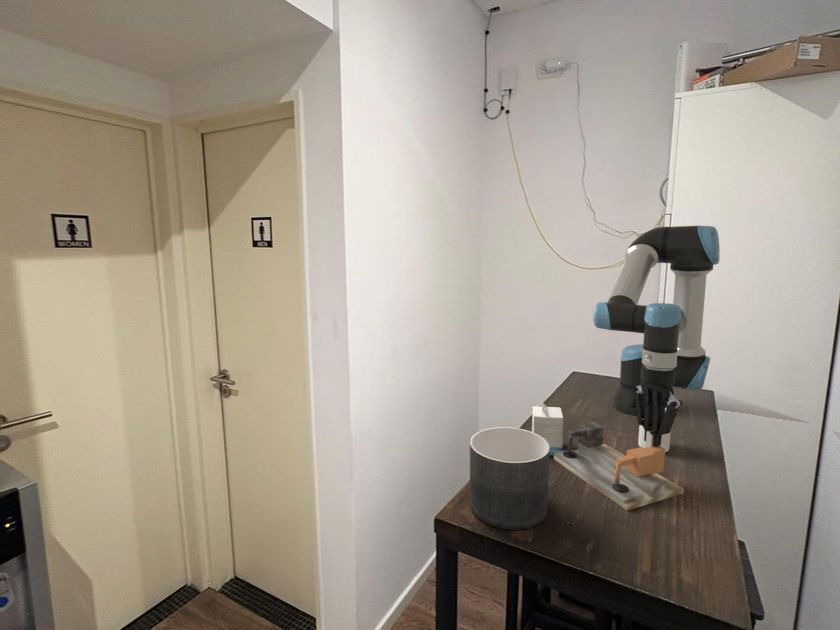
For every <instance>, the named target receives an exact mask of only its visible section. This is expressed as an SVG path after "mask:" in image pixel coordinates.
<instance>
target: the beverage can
mask: <svg viewBox="0 0 840 630" xmlns="http://www.w3.org/2000/svg"><path fill="white" fill-rule="evenodd" d="M666 408H667V407H666ZM666 408H665V411H666ZM638 426H639V428H638V439H637V440H638V443H637V444H638V446H639V447H643V448H646V441H645V440H644V434H645V430H644V427H643V426H642V425H638ZM671 431H672V430H671ZM671 431H670V433H668V434H664V435H662V438H661V445H660V447H662V448H664V449H665V453H667V452H669V450H670V444H671V434H672V432H671Z"/></svg>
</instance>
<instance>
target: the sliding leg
mask: <svg viewBox="0 0 840 630" xmlns="http://www.w3.org/2000/svg"><path fill="white" fill-rule="evenodd" d="M665 456H666V452H665V449H664V448H662V447H660V446H657V447H656V446H651V447H647V448H643V447H640V446H639V447H635V448H631V449H626V455H625V456H624V457H620V458H616V474H615V483H616V484H619V482H620V467H622V466H625V469H626V470H628V471H629V472H631V473H633V474H634V475H636V476H638V477H640V476H644V475H647V474H656V473H657V474H659V473H662V472H664V470H665V469H664V467H665Z"/></svg>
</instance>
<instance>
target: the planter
mask: <svg viewBox="0 0 840 630" xmlns="http://www.w3.org/2000/svg"><path fill="white" fill-rule="evenodd" d="M550 456H551V455H550V446H549V444H548V442H547V441H546V440H545V439H544V438H543V437H541V436H539V435H538V434H535V433H533V432H532V431H531V430H528V429H523V428H519V427H508V426H503V427H502V426H499V427H498V426H497V427H490V428H484V429H482V430H480V431H478V432H476V433H474V434H473V435H472V436H471V438H470V440H469V507H470V510H471V512H472V513H473V514H474V516H475V517H476V518H477V519H479V520H480V521H482V522H483V523H485V524H487V525H488V526H492V527H495V528H497V529H503V530H510V531H520V530H521V531H523V530H527V529H531V528H534V527H536V526H538V525H540V524H541V523H542V522H543V521H544V520H545V519H546V518H547V515H548V494H549V493H548V491H549V477H550V475H549V473H550Z"/></svg>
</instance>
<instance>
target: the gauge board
mask: <svg viewBox="0 0 840 630" xmlns="http://www.w3.org/2000/svg"><path fill="white" fill-rule="evenodd" d="M566 433H567V434H566V435H567V437H568V446H567V447H568V448H567V449H563V451H559V452H554V456H553V460H555V461H556V462H557V463H559V464H560V465H561V466H563V468H566V469H567V470H568V471H570V472H571V473H573V475H575V476H577V477H578V478H580V479H581V480H583V481H584V482H585V483H587V484H588V485H590V486H591V487H592V488H594V489H596V490H597V491H598V492H599V493H601V494H603V495H604V496H605V497H607V498H608V499H610V500H611V501H612V502H614V503H615V504H616V505H618V506H620V507H621V508H622V509H624V510H625V511H627V512H628V511H631V510H634V509H637V508H640V507H644V506H647V505H649V504H654V503H656V502H660V501H663V500H667V499H670V498H673V497H677V496H680V495H683V494H684V493H685V491H684V490H685V489H684V488H683V487H681V486H680V485H678V484H676V483H674V482H672V481H671V480H670V479H667V478H666V477H664V476H662V475H661V474H659V473H656V474H647V475H644V476H640V477H638V476H636V475H634V474H633V473H631V472H629V471H628V470H626V469H625V466H622V467H620V482H619V484H616V483H615V474H616V458H620V457H624V456H626V455H624V454H623V453H621V452H620V451H618V450H616V449H614V448H612V447H611V446H609V445H607V444H606V443H603V441H604V426H602V425H600V424H598V423H596V422H594V421H591V422H585V423H581V424H578V428H577V429H570V430H568V431H567V432H566ZM574 438H578V439H577V444H578V445H577V449H573V441H574V440H573V439H574Z"/></svg>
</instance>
